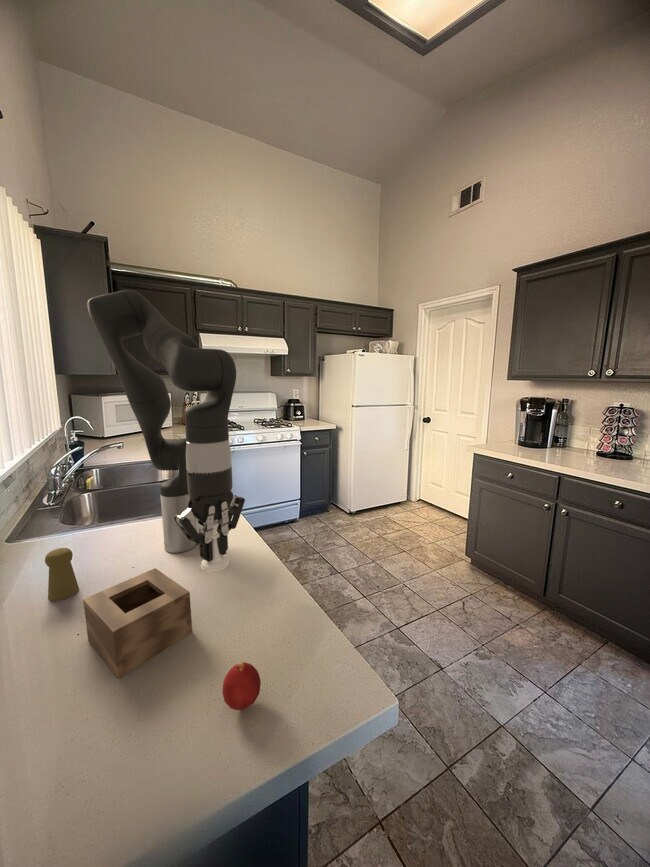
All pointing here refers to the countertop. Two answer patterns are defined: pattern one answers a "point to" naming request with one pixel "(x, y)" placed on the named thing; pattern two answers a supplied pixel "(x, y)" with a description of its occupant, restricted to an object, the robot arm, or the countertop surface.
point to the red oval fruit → (241, 686)
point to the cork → (61, 575)
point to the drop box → (137, 619)
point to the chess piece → (215, 554)
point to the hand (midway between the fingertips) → (214, 556)
